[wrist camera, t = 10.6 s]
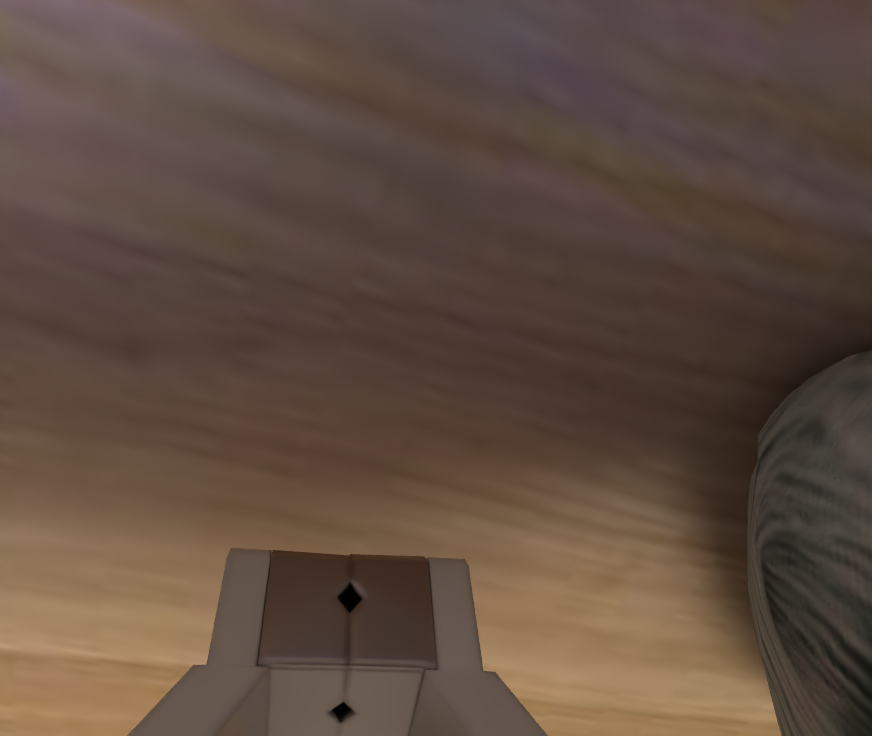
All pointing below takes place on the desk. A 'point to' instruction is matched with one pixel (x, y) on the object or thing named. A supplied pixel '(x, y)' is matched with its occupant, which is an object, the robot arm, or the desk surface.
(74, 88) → the desk surface
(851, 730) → the ribbed grey ovoid
